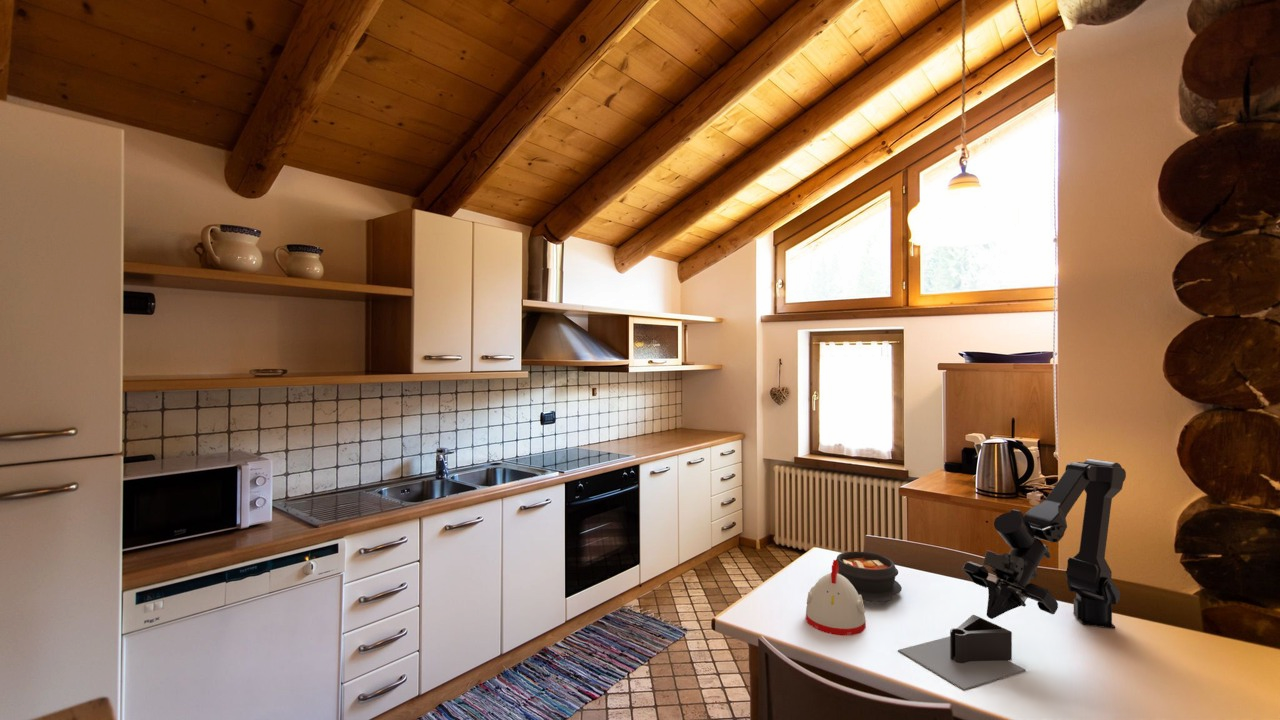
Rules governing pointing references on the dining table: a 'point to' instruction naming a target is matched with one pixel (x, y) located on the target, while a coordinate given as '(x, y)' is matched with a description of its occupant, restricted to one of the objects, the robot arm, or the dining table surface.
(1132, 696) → the dining table surface
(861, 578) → the casserole
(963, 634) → the phone stand
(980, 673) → the mat
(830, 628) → the kitchen timer
